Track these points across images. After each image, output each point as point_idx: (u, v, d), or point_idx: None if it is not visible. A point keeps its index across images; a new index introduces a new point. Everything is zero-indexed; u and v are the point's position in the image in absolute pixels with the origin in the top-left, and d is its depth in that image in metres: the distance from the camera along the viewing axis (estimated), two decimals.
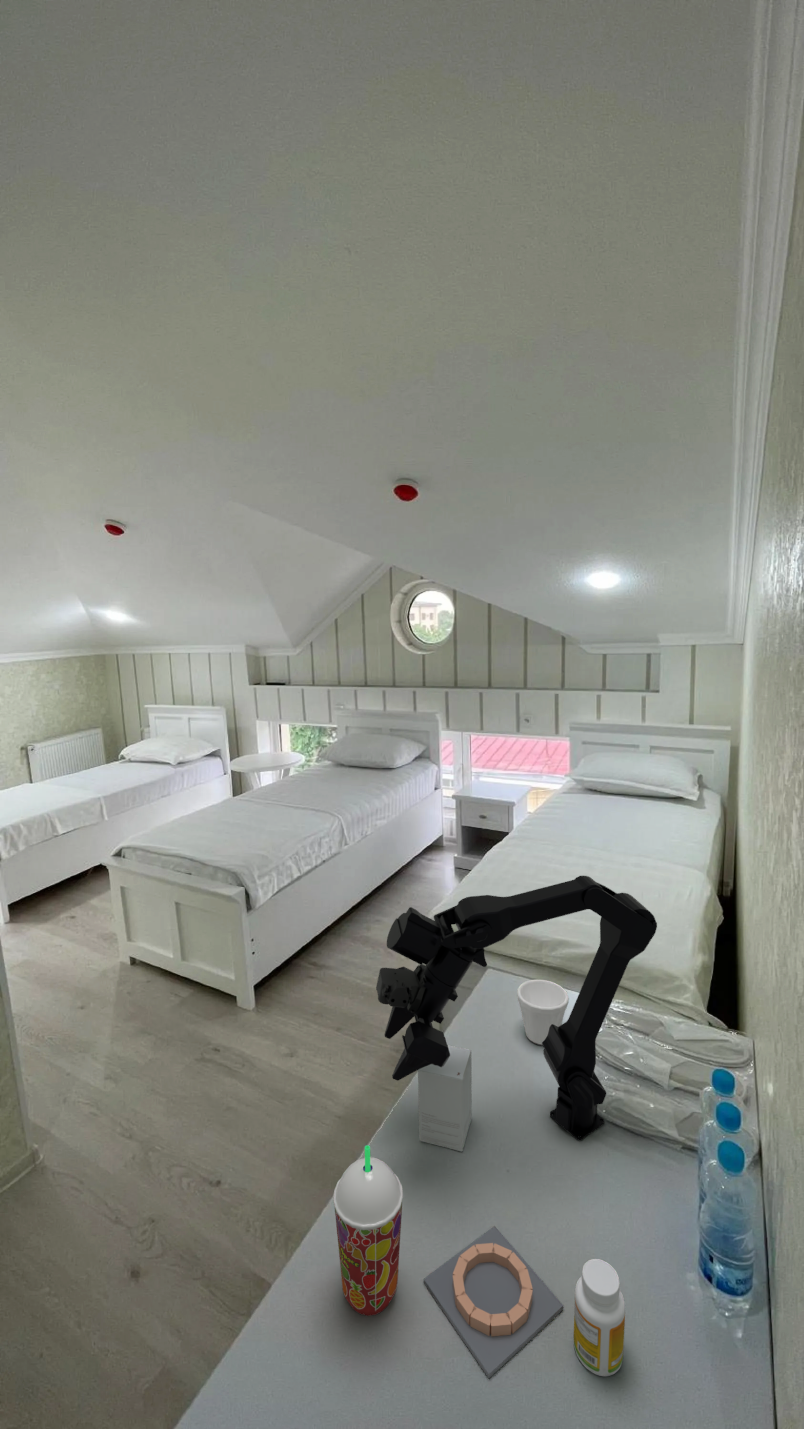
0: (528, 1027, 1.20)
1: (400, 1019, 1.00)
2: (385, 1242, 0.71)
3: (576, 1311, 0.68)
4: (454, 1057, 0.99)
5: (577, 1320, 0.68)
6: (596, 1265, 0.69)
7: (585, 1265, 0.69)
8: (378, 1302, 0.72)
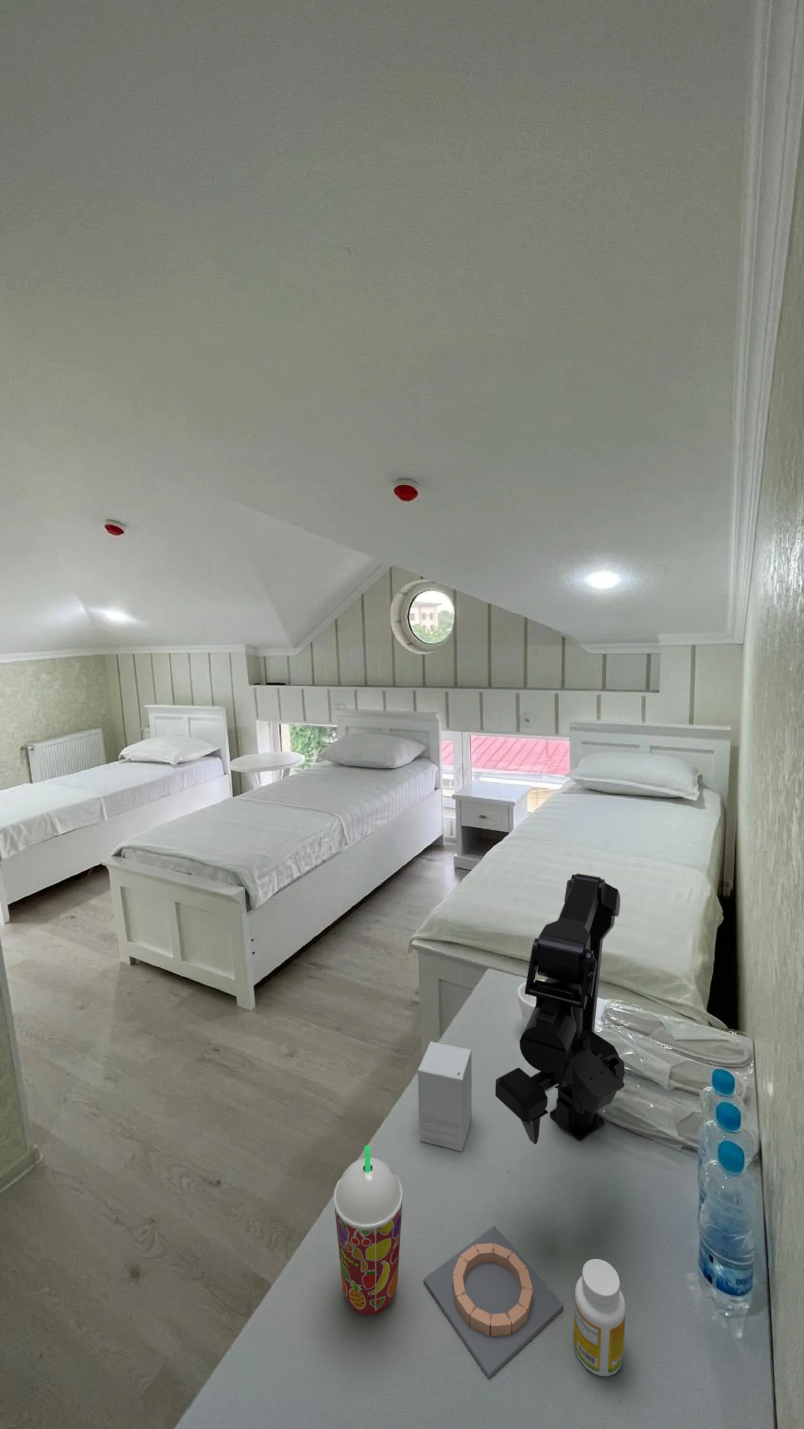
0: None
1: None
2: (385, 1242, 0.71)
3: (576, 1311, 0.68)
4: (454, 1057, 0.99)
5: (577, 1320, 0.68)
6: (596, 1265, 0.69)
7: (585, 1265, 0.69)
8: (378, 1302, 0.72)
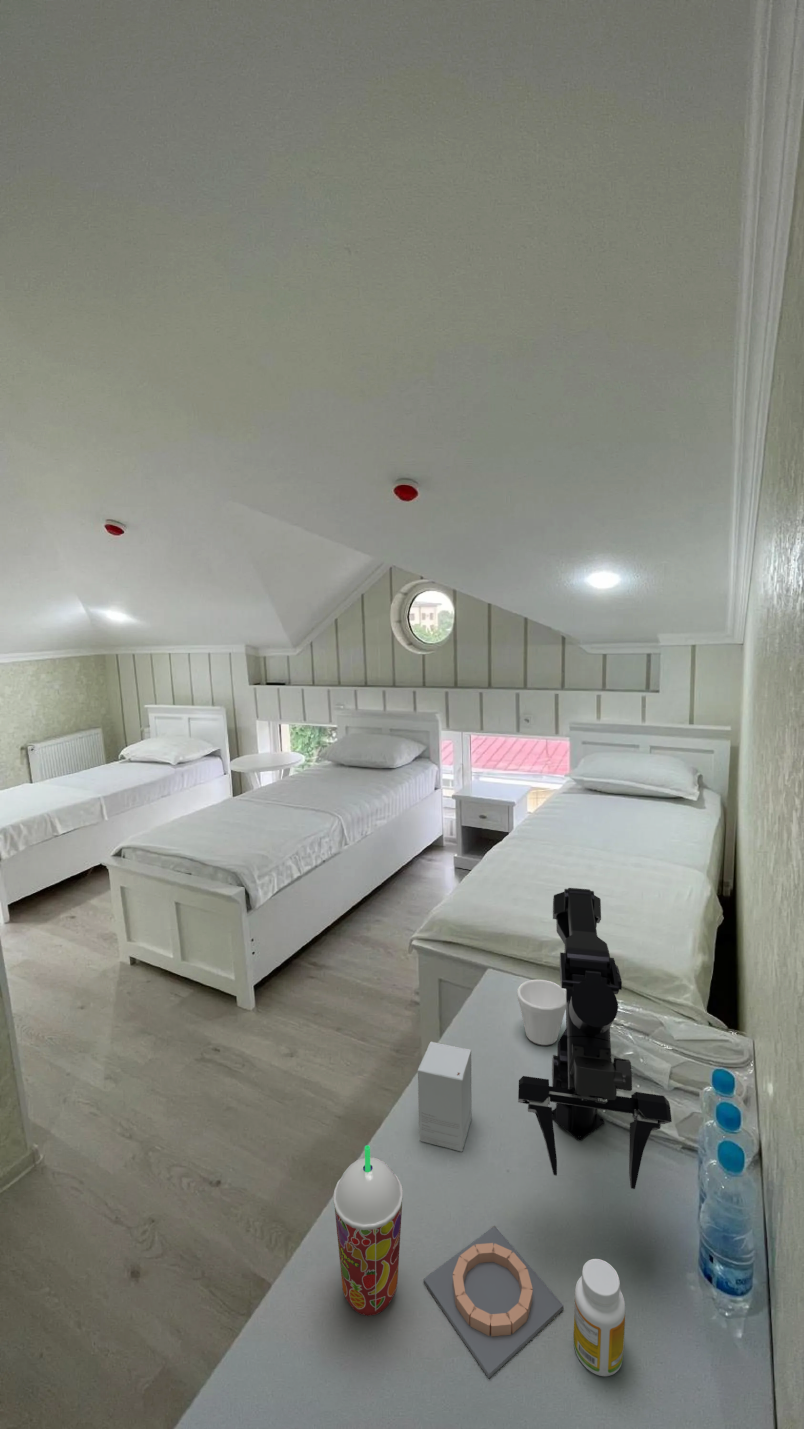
0: (528, 1027, 1.20)
1: None
2: (385, 1242, 0.71)
3: (576, 1311, 0.68)
4: (454, 1057, 0.99)
5: (577, 1320, 0.68)
6: (596, 1265, 0.69)
7: (585, 1265, 0.69)
8: (378, 1302, 0.72)
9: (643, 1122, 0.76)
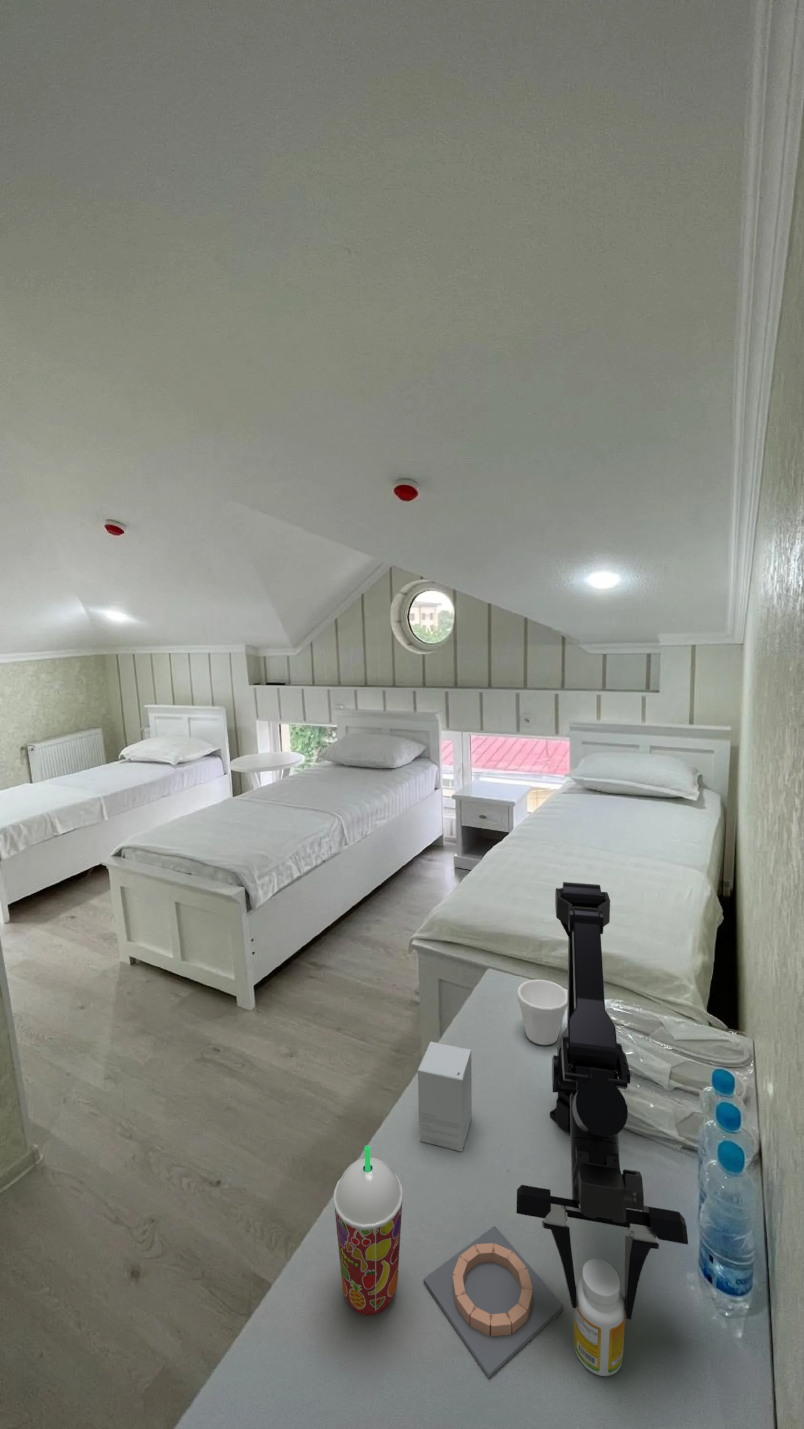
0: (528, 1027, 1.20)
1: None
2: (385, 1242, 0.71)
3: (576, 1311, 0.68)
4: (454, 1057, 0.99)
5: (577, 1320, 0.68)
6: (596, 1265, 0.69)
7: (585, 1265, 0.69)
8: (378, 1302, 0.72)
9: (640, 1242, 0.68)
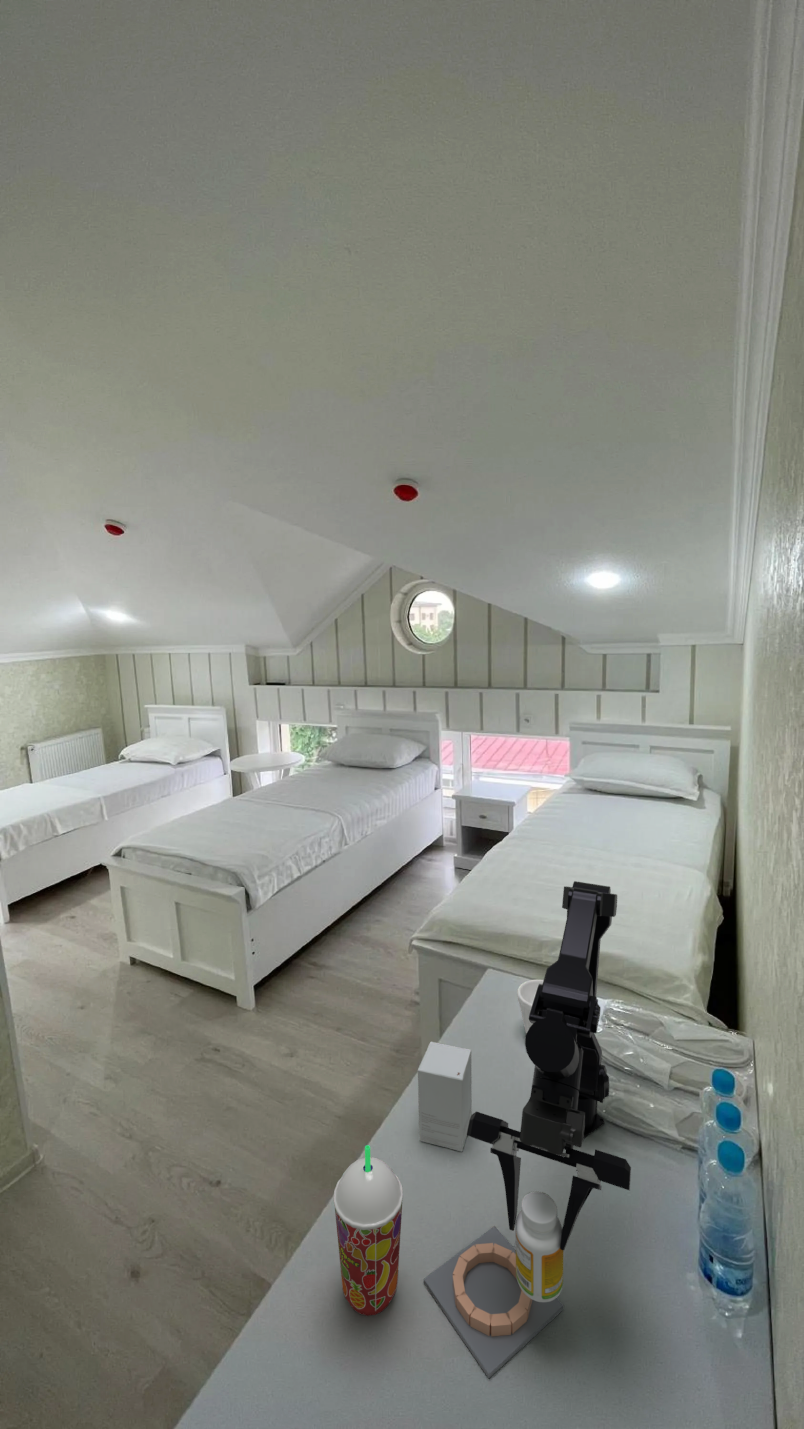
0: (528, 1027, 1.20)
1: (516, 1191, 0.72)
2: (385, 1241, 0.71)
3: None
4: (454, 1057, 0.99)
5: (516, 1245, 0.71)
6: (538, 1196, 0.71)
7: (527, 1195, 0.71)
8: (378, 1302, 0.72)
9: (579, 1179, 0.69)
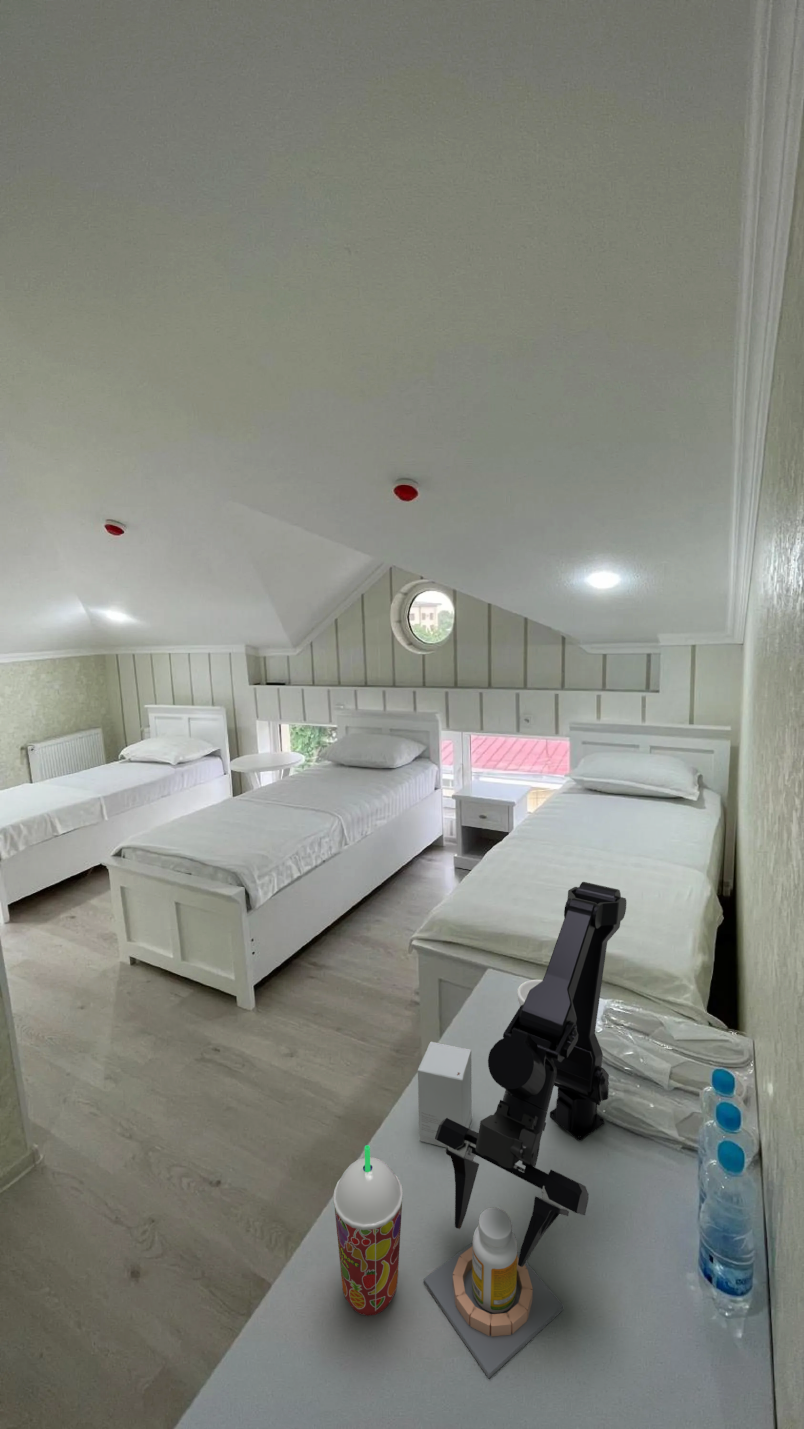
0: None
1: (467, 1193, 0.77)
2: (385, 1241, 0.71)
3: None
4: (454, 1057, 0.99)
5: (472, 1254, 0.75)
6: (496, 1213, 0.75)
7: (487, 1209, 0.75)
8: (378, 1302, 0.72)
9: (541, 1201, 0.71)
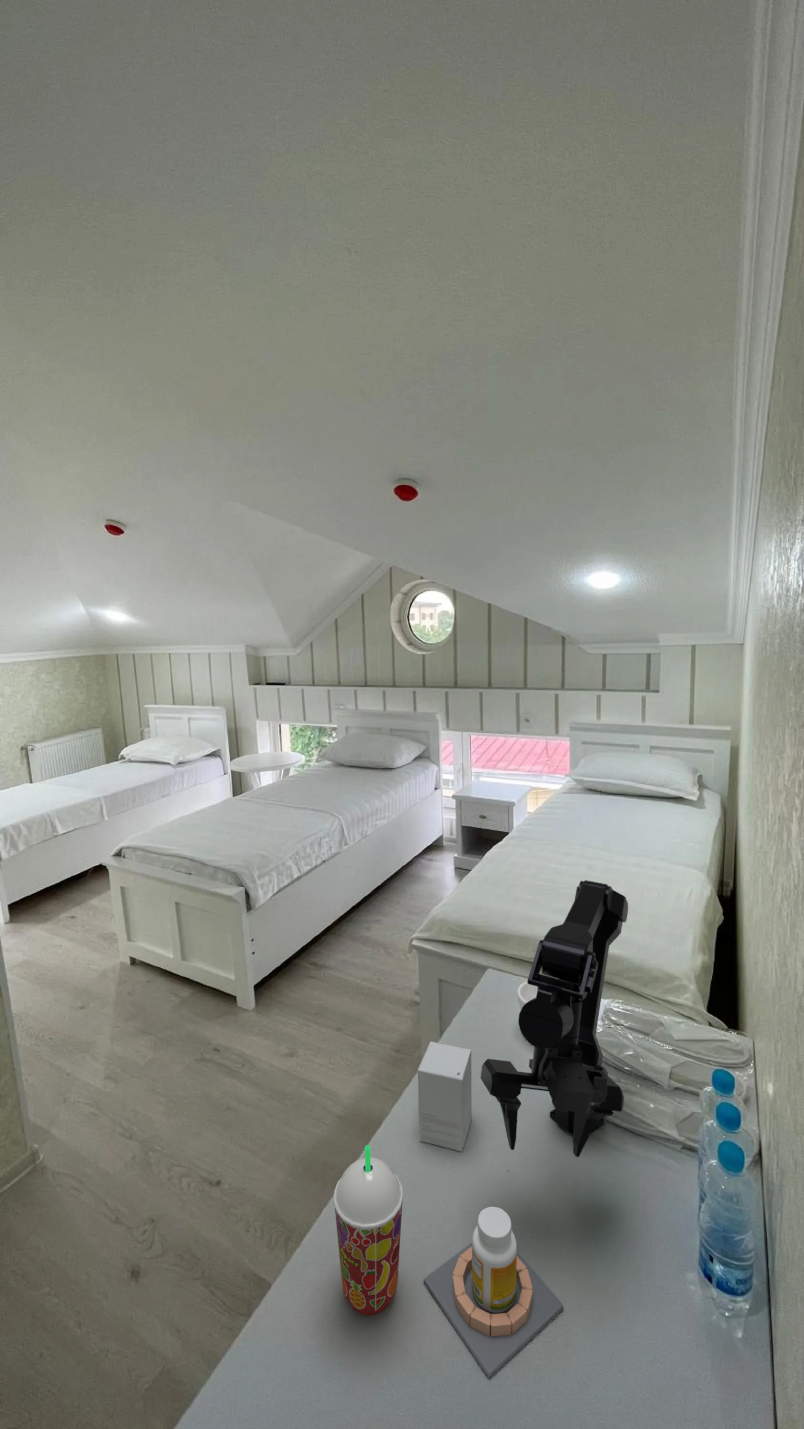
0: None
1: None
2: (385, 1241, 0.71)
3: None
4: (454, 1057, 0.99)
5: None
6: (496, 1212, 0.75)
7: (486, 1209, 0.75)
8: (378, 1302, 0.72)
9: (600, 1113, 0.82)
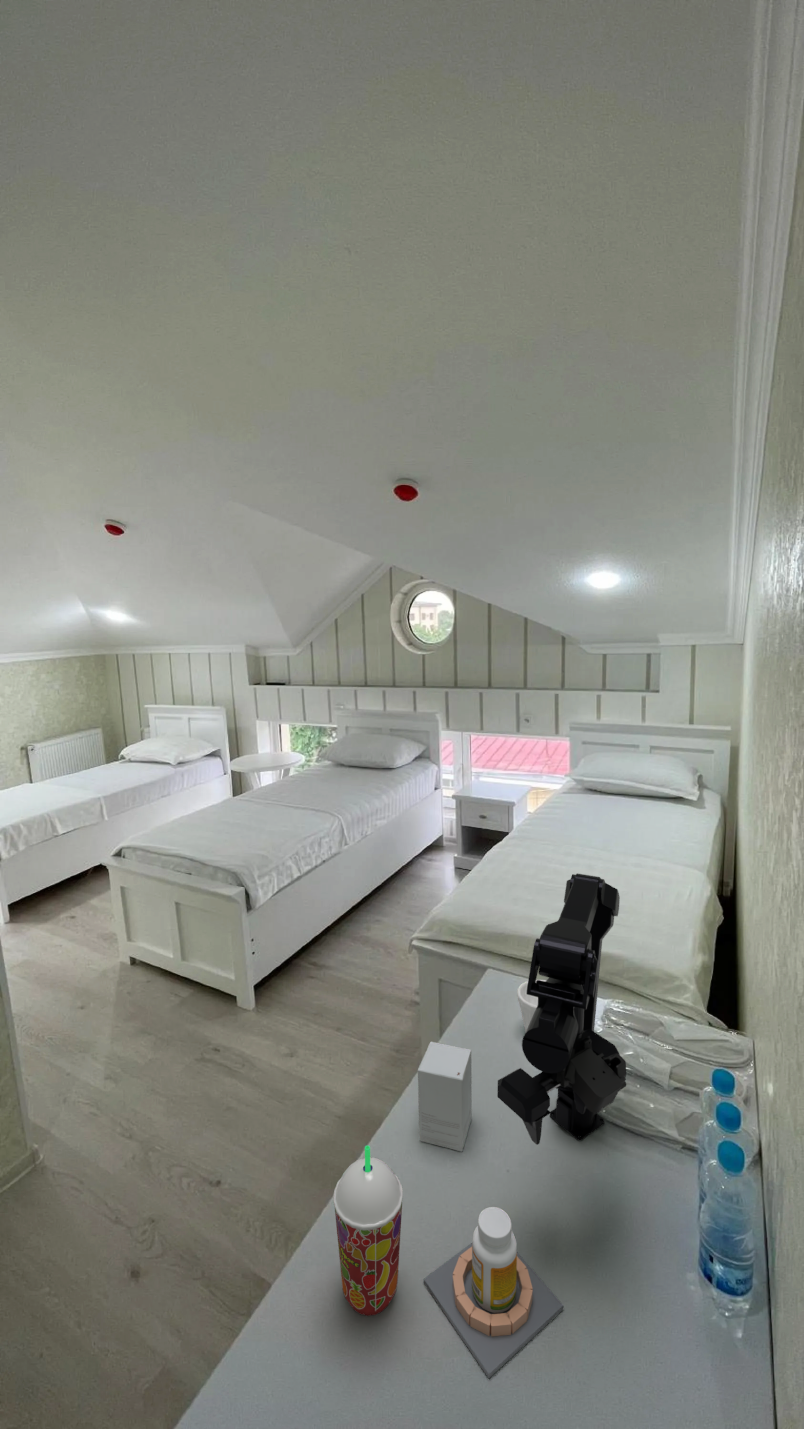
0: None
1: None
2: (385, 1242, 0.71)
3: None
4: (454, 1057, 0.99)
5: None
6: (496, 1212, 0.75)
7: (486, 1209, 0.75)
8: (378, 1302, 0.72)
9: None
